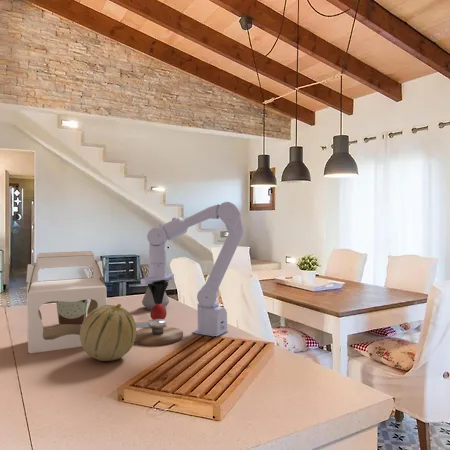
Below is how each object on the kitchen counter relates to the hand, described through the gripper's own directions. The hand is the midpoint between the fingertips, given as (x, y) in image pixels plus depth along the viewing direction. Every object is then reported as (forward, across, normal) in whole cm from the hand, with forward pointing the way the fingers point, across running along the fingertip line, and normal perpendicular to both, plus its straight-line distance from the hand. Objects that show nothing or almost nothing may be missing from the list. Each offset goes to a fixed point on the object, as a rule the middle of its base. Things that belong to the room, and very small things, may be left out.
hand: (158, 303), depth 139 cm
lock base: (+9, +6, +5) cm, 12 cm away
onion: (+10, -8, -7) cm, 14 cm away
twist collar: (+6, +9, +2) cm, 11 cm away
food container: (+10, +7, -34) cm, 36 cm away
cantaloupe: (+10, +28, +7) cm, 30 cm away
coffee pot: (+10, -25, -21) cm, 34 cm away
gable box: (+10, +24, -16) cm, 30 cm away
